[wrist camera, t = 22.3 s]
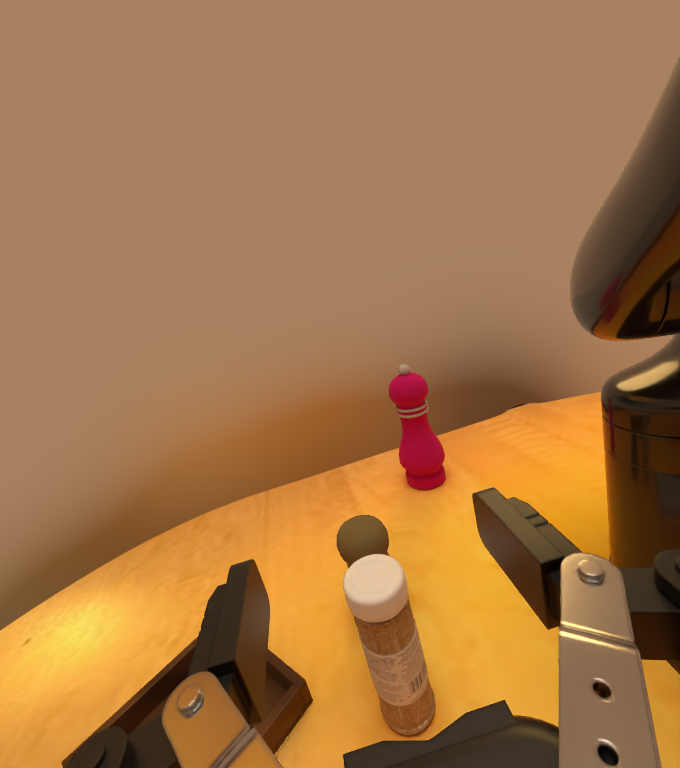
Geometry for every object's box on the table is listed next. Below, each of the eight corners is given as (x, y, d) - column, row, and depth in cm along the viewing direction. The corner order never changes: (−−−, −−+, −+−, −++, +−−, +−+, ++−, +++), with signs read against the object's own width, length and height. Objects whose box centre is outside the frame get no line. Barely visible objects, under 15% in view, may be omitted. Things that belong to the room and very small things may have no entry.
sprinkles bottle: (409, 665, 33) (377, 542, 29) (448, 708, 29) (417, 572, 25) (369, 703, 30) (330, 576, 27) (406, 755, 27) (366, 614, 23)
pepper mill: (439, 495, 55) (414, 370, 50) (397, 488, 60) (370, 373, 54) (455, 470, 60) (434, 355, 55) (415, 465, 65) (392, 359, 60)
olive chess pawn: (344, 629, 38) (317, 542, 35) (367, 583, 43) (345, 503, 40) (399, 646, 34) (374, 552, 32) (417, 594, 39) (397, 509, 37)
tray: (230, 629, 41) (223, 612, 40) (313, 700, 32) (305, 679, 31) (74, 781, 30) (61, 761, 30) (129, 955, 21) (112, 932, 20)
